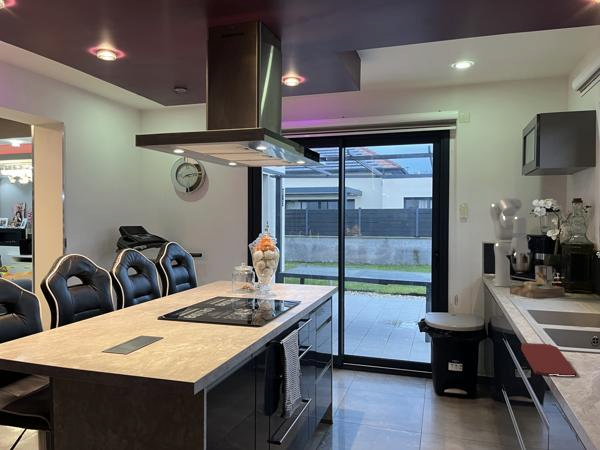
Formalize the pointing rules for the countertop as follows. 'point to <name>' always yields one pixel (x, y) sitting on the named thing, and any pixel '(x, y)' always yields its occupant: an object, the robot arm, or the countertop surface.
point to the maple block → (530, 285)
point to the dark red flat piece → (546, 359)
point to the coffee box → (544, 274)
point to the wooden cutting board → (537, 291)
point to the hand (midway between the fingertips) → (519, 263)
